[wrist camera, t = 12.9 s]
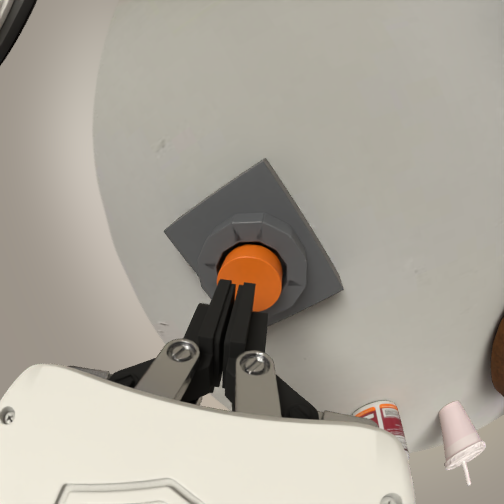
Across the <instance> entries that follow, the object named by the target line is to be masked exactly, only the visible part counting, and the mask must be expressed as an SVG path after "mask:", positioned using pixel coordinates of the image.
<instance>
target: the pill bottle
mask: <svg viewBox="0 0 504 504" xmlns="http://www.w3.org/2000/svg"><path fill="white" fill-rule="evenodd" d="M352 416H356V417H362V418H368V419H371V420H373V421H374V422H376V423H377V425H378V426H379V428H381V429H383V430H386V431H388V432H390V433H392V434H393V435H394V436H396V437H397V438H398V440H399V441H400V442H401V444H402V446H403V448H404V450H405V452H406V455H407V458H408V461H409V453H408V448H407V444H406V440H405V436H404V431H403V427H402V424H401V420H400V416H399V412H398V409H397V406H396V405H395V404H394V403H393V402H390V401H377V402H373V403H370V404H367V405H365V406H363V407H361V408H360V409H358V410H357V411H355V412H354V413H353V415H352Z"/></svg>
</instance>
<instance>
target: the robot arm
mask: <svg viewBox="0 0 504 504" xmlns="http://www.w3.org/2000/svg"><path fill="white" fill-rule="evenodd" d="M13 2H14V0H0V29H1V27H2V25H3V23H4V21H5V19H6V17H7V15H8V13H9V11H10V9H11V7H12V4H13ZM255 286H256V284H254V283H247V282H244V285H239V287H238V291H237V294H236V298H235V290H236V284H232V280H225V279H220V280H219V282H218V285H217V287H216V290H215V292H214V295H213V297H212V300H211V303H210V305H208V304H202V303H199V305H198V306H197V309H196V311H195V313H194V315H193V318H192V320H191V322H190V325H189V327H188V329H187V331H186V334H185V336H184V338H183V339H175V340H172V341H170V342H168V343H167V344H166V345H165V346H164V348H163V349H162V350H161V352H160V353H159V355H158V356H157V357H156V358H154V359H151V360H149V361H146V362H143V363H140V364H137V365H135V366H132V367H129V368H126V369H123V370H120V371H118V372H115V373H114V374H110V373H109V371H101V370H95V369H88V368H82V367H76V366H63V365H57V364H36V365H33V366H31V367H29V368H28V369H26V370H25V371H24V372H23V373H22V374H21V375H20V376H19V377H18V378H17V379H16V380H15V381H14V383H13V384H12V385H11V386H10V388H9V389H8V391H7V392H6V393H5V395H4V396H3V398H2V399H1V400H0V504H416V501H415V492H414V485H413V480H412V474H411V470H410V466H409V462H408V458H407V455H406V452H405V450H404V448H403V446H402V444H401V442H400V441H399V440H398V438H397V437H396V436H394V435H393V434H392V433H390V432H388V431H386V430H383V429H381V428H379V426H378V425H377V423H376V422H374V421H373V420H371V419H368V418H362V417H356V416H351V415H345V414H340V413H335V412H330V411H326V410H325V411H324V412H319V411H317V410H316V409H315V408H314V407H313V406H312V405H311V404H310V403H309V402H308V401H306V400H305V399H304V398H303V397H302V396H300V395H299V394H298V393H297V392H296V391H294V390H293V389H292V388H291V387H290V386H289V385H287V384H286V383H285V382H284V381H283V380H282V379H281V378H279V377H278V376H277V375H276V374H275V367H274V362H273V360H272V358H271V357H270V356H269V355H267V354H266V353H265V345H266V334H267V323H268V313H263V312H255V311H253V303H254V295H255ZM222 372H223V384H222V388H225V396H226V397H227V398H228V399H229V401H230V402H231V403H232V411H226V410H221V409H215V408H210V407H204V406H200V403H201V401H202V396H204V395H206V394H208V393H213V390H214V386H215V387H219V385H220V381H221V377H222Z"/></svg>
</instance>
